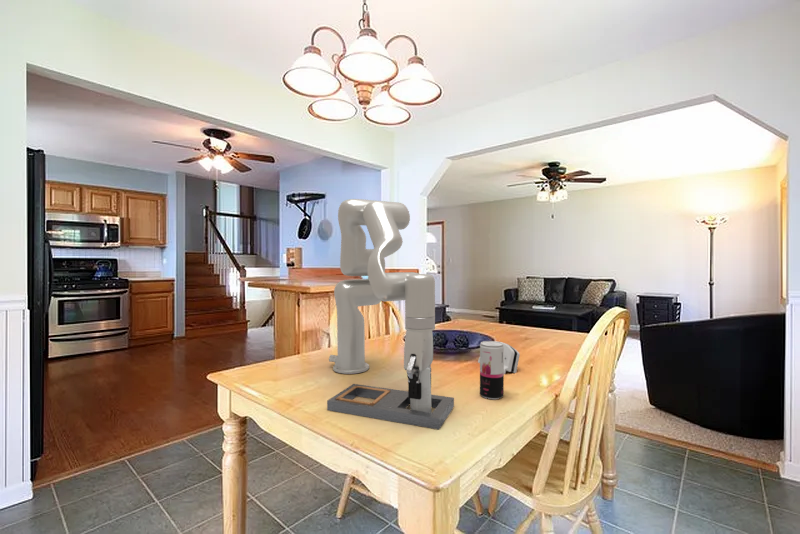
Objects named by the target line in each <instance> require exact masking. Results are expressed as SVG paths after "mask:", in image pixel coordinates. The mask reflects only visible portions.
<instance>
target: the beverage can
mask: <svg viewBox="0 0 800 534" xmlns="http://www.w3.org/2000/svg"><path fill="white" fill-rule="evenodd" d="M501 342H502V341H497V342H496V341H495V340H485V341H481V342H480V344H479V357H480V363H479V394H480V396H481V397H482V398H484V399H487V398H488V399H487V400H500V399H502V398H503V397H504V393H505V392H504V389H505V387H504V383H505V382H504V378H505V377H504V375H505V374H504V346H503V343H504V342H503V343H501ZM501 397H502V398H501ZM499 398H500V399H499Z"/></svg>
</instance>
